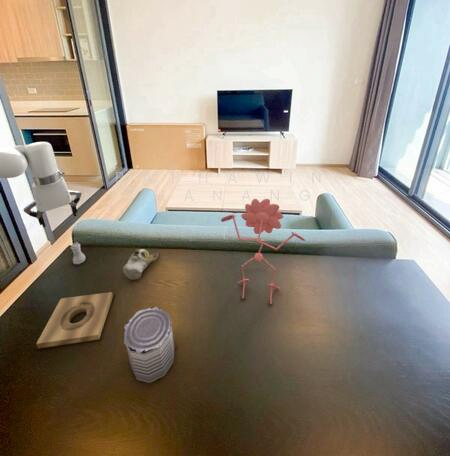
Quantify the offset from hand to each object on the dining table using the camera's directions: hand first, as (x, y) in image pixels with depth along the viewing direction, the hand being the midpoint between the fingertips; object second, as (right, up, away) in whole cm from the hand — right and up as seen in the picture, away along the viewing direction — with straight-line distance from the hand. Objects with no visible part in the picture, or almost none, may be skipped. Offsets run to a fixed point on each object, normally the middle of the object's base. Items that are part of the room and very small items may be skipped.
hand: (59, 220), depth 90 cm
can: (+42, -30, -25) cm, 57 cm away
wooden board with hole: (+16, -27, -15) cm, 34 cm away
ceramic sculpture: (+28, -20, +4) cm, 35 cm away
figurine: (+73, -22, -4) cm, 76 cm away
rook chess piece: (+2, -19, +8) cm, 21 cm away
